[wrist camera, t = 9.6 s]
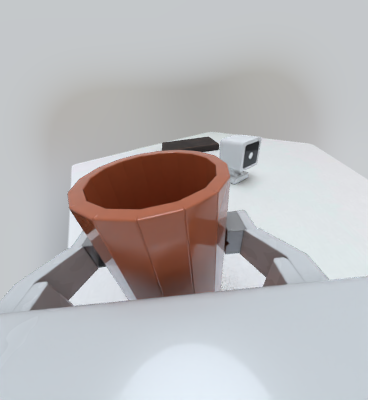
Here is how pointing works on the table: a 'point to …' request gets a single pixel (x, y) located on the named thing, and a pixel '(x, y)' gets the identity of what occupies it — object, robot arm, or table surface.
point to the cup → (157, 221)
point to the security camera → (239, 155)
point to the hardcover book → (192, 145)
